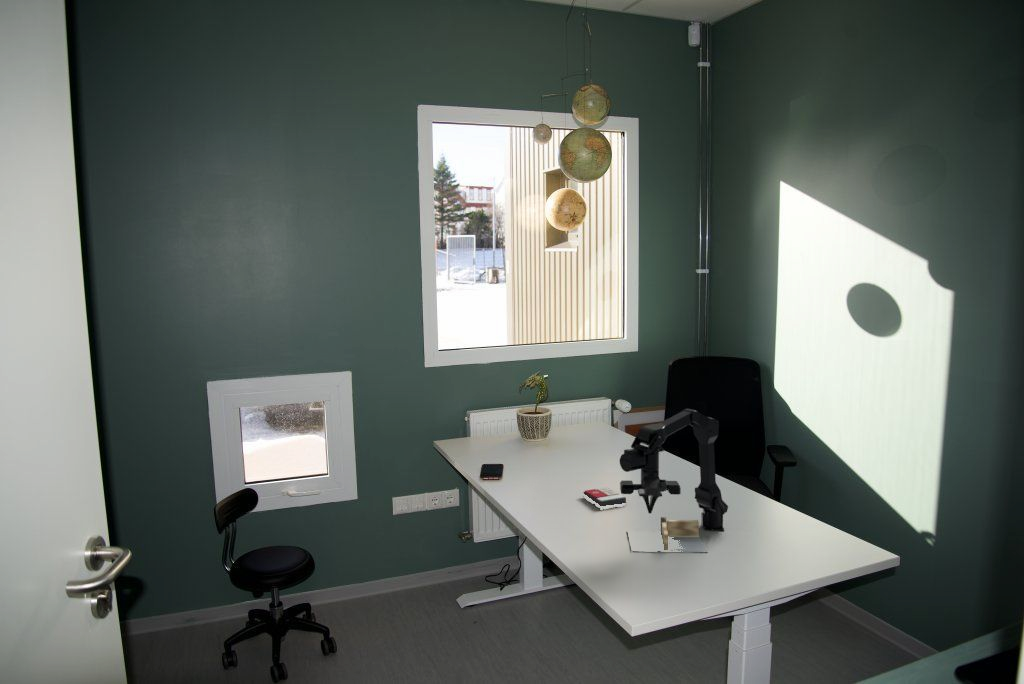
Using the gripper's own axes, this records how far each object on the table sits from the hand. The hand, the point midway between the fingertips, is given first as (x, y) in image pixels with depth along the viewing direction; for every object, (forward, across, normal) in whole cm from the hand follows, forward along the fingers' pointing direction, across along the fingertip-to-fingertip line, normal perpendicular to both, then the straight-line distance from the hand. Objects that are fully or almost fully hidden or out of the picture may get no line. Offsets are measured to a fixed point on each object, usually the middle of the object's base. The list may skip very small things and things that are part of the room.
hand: (649, 513), depth 215 cm
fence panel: (+11, +5, +2) cm, 12 cm away
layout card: (+12, +6, +5) cm, 14 cm away
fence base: (+11, +11, +9) cm, 18 cm away
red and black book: (+12, -12, +42) cm, 45 cm away
